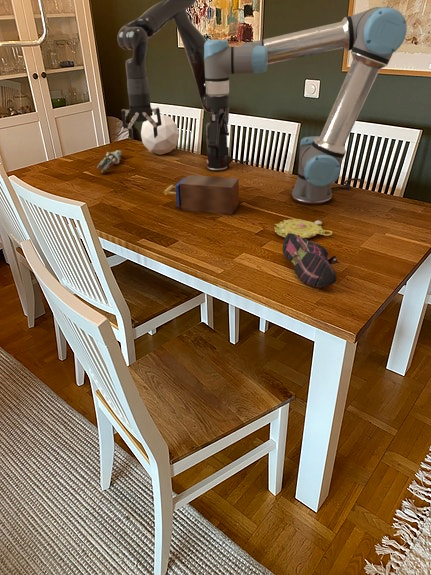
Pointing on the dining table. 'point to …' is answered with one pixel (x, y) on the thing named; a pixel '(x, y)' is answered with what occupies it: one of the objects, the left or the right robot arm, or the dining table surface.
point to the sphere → (160, 135)
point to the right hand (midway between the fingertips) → (219, 160)
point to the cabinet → (209, 194)
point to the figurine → (110, 160)
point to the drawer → (178, 195)
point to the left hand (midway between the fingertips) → (143, 138)
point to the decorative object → (300, 228)
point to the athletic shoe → (309, 261)
